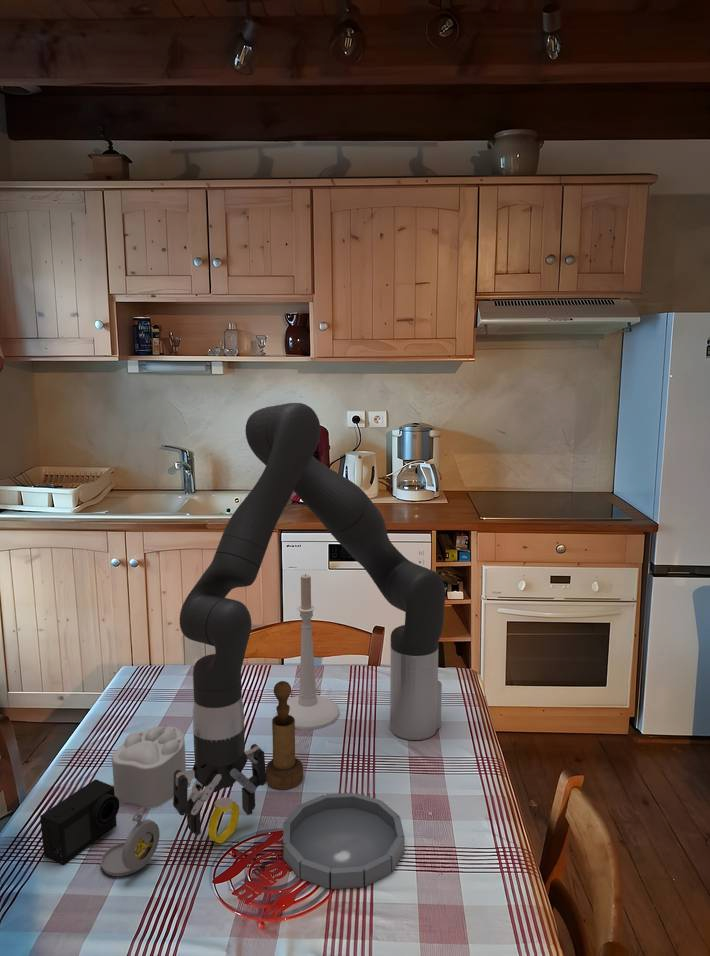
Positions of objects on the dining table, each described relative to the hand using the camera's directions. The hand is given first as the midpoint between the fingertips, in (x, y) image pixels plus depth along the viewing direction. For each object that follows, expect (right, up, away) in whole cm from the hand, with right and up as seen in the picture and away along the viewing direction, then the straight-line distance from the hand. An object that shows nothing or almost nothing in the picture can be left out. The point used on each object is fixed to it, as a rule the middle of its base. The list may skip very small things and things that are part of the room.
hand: (222, 822), depth 111 cm
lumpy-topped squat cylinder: (-14, 0, +14) cm, 20 cm away
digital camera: (-21, -3, -1) cm, 21 cm away
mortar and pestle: (+8, 0, +15) cm, 17 cm away
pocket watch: (-12, -4, -6) cm, 14 cm away
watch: (0, -3, +1) cm, 3 cm away
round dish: (+19, -3, -1) cm, 19 cm away
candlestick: (+11, +4, +37) cm, 39 cm away
